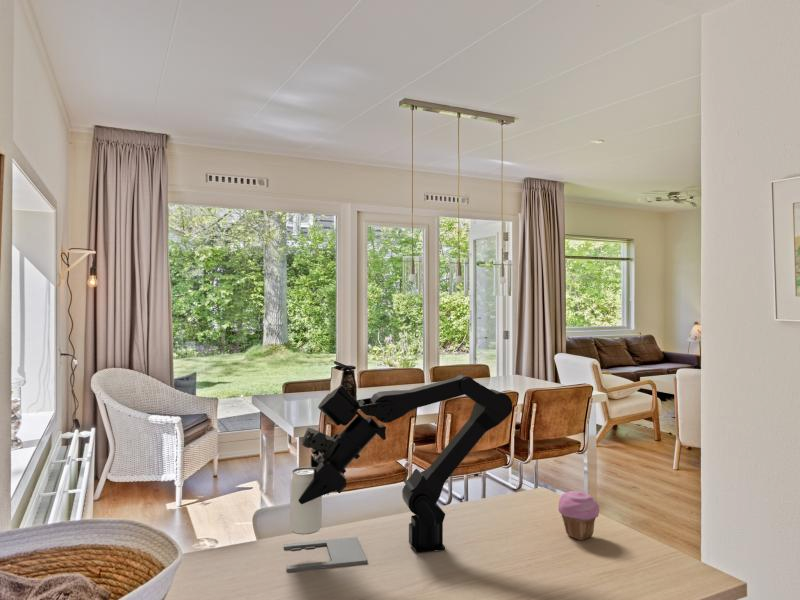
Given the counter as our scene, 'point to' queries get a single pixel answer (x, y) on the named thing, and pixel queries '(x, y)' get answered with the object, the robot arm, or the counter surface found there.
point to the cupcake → (578, 514)
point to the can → (309, 513)
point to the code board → (331, 553)
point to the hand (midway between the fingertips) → (299, 497)
